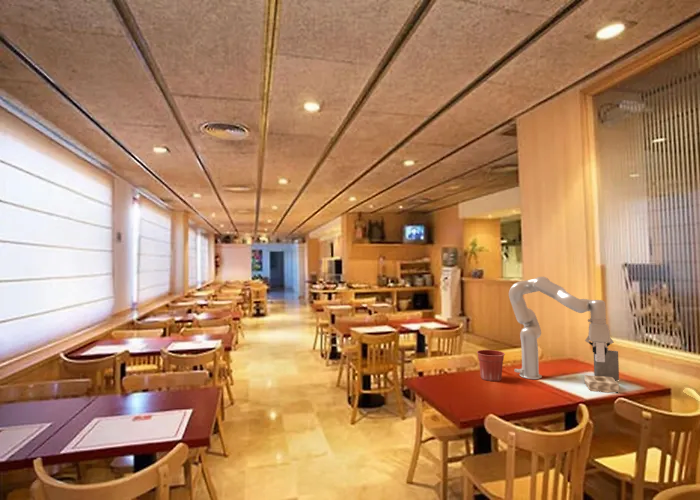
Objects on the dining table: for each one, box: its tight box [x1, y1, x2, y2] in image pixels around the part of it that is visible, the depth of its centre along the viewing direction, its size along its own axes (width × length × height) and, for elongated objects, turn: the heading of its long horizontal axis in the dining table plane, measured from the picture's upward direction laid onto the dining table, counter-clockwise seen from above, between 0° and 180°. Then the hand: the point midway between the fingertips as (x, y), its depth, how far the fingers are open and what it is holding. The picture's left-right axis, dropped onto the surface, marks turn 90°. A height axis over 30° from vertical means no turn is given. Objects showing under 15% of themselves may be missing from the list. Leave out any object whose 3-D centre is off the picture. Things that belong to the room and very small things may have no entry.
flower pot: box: [476, 349, 506, 382], centre depth 247 cm, size 16×16×16 cm
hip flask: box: [593, 347, 620, 381], centre depth 239 cm, size 16×4×20 cm, turn 100°
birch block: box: [584, 374, 620, 394], centre depth 225 cm, size 14×14×5 cm
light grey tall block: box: [595, 342, 605, 362], centre depth 226 cm, size 4×4×11 cm
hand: (599, 353), depth 226 cm, fingers closed on light grey tall block, 4 cm apart
